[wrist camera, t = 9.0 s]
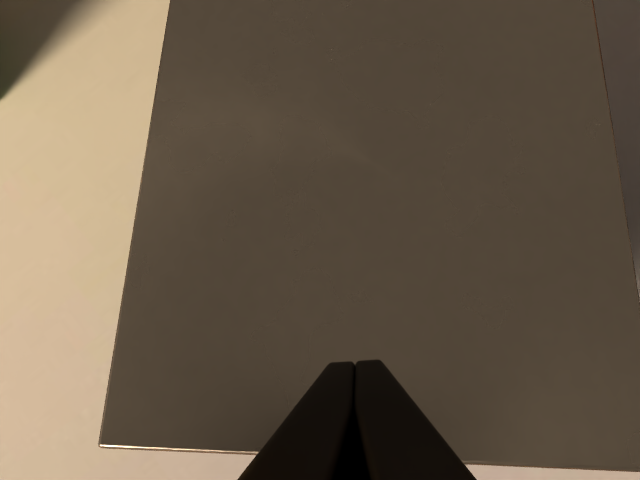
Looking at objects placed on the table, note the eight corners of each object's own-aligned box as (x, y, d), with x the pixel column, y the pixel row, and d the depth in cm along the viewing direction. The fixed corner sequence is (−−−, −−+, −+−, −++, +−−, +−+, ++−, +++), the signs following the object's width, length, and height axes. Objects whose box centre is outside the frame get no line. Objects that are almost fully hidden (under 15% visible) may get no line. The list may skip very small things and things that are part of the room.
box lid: (182, -26, 17) (176, -44, 16) (577, -30, 16) (586, -50, 16) (109, 447, 12) (96, 448, 12) (650, 471, 12) (667, 473, 11)
